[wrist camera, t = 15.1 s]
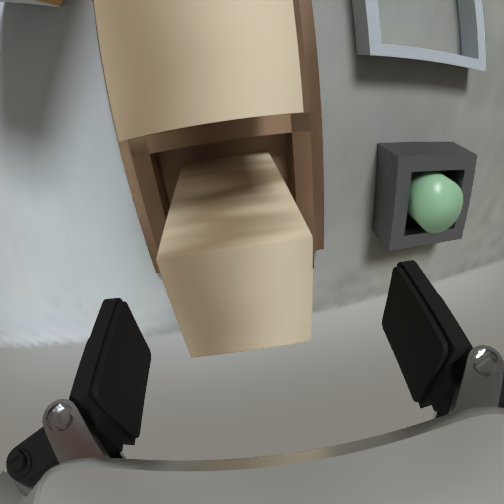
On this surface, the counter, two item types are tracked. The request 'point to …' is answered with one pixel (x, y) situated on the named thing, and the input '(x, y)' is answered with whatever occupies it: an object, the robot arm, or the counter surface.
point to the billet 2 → (237, 257)
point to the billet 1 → (197, 62)
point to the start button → (434, 201)
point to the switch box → (398, 189)
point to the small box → (38, 2)
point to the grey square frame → (470, 48)
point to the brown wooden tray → (237, 149)
